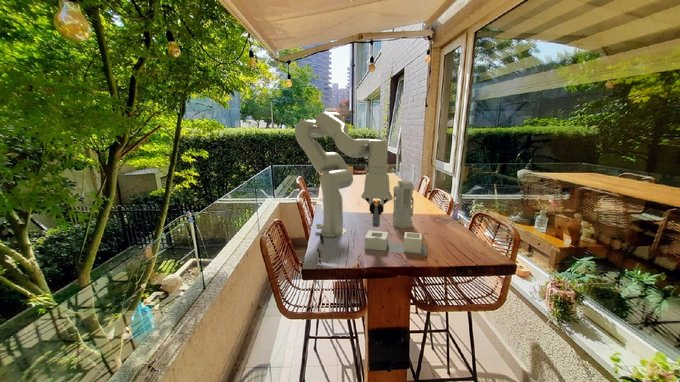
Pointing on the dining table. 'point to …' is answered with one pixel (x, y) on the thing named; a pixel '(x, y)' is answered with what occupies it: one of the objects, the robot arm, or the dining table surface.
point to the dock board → (380, 243)
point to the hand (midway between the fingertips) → (376, 213)
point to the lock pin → (376, 213)
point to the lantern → (403, 204)
